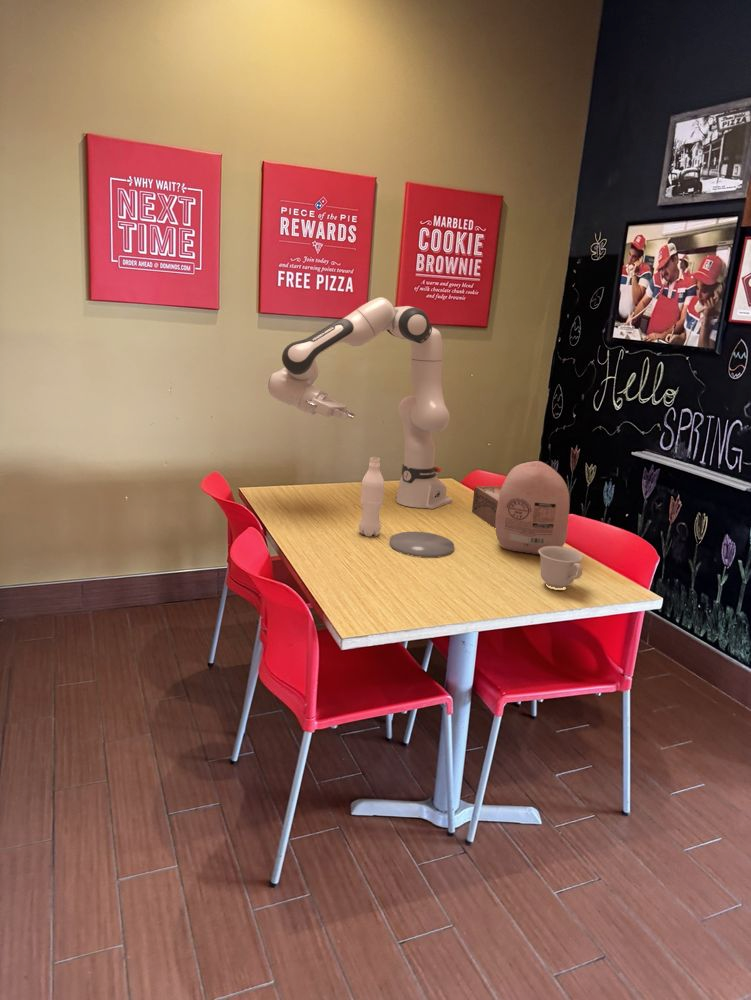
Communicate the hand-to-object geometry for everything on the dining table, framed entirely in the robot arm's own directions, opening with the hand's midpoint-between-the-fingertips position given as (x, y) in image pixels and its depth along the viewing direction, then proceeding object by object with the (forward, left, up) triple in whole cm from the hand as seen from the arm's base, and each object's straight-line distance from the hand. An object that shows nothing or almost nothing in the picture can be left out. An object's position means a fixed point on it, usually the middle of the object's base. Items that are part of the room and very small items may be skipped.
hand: (350, 417), depth 236 cm
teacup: (-6, +80, -35) cm, 87 cm away
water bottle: (+6, +18, -35) cm, 39 cm away
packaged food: (-24, +58, -35) cm, 72 cm away
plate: (0, +35, -34) cm, 49 cm away
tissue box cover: (-44, +36, -35) cm, 67 cm away
